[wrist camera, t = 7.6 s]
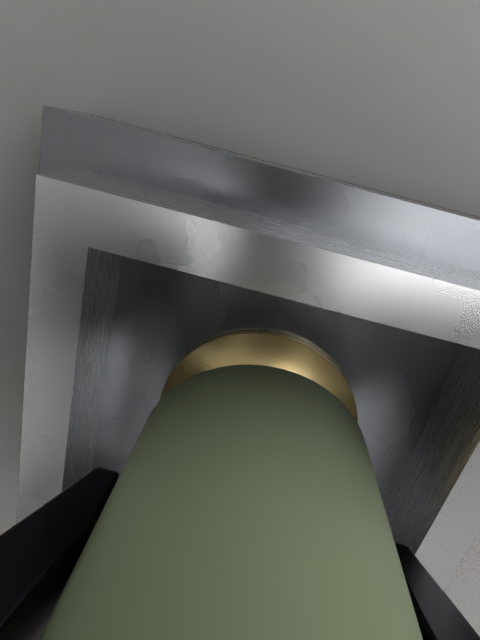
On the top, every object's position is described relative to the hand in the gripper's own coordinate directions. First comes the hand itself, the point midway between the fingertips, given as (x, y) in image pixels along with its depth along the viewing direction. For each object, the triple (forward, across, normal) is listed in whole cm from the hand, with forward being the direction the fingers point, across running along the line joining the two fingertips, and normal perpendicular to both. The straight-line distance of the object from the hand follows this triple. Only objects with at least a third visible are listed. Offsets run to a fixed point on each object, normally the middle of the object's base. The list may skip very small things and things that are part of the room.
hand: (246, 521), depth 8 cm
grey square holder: (+5, 0, 0) cm, 5 cm away
